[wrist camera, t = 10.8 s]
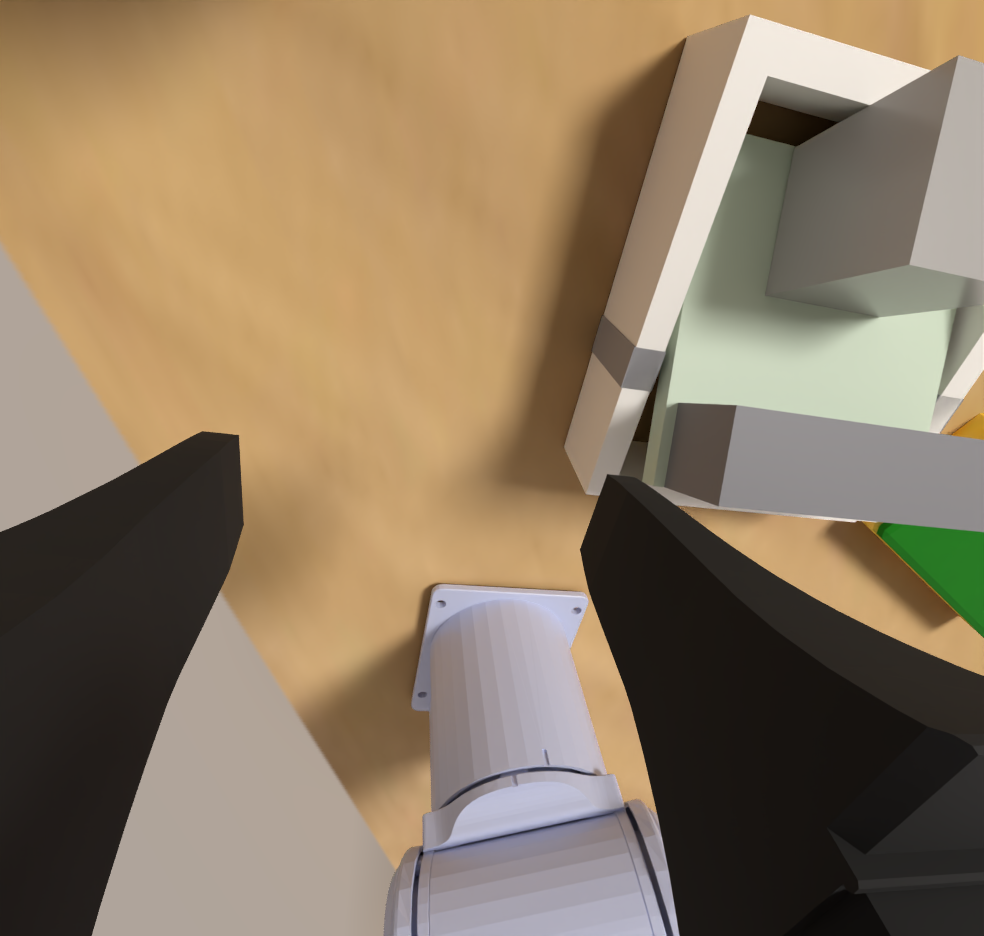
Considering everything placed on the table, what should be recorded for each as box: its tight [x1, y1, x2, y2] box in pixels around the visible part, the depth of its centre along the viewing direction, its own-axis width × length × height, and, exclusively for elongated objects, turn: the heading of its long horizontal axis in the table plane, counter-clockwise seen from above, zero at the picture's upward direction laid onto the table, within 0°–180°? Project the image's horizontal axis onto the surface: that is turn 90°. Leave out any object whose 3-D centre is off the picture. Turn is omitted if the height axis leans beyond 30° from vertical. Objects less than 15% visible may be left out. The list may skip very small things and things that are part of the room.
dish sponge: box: [862, 413, 984, 638], centre depth 28 cm, size 7×14×2 cm, turn 50°
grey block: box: [765, 55, 984, 317], centre depth 15 cm, size 4×4×5 cm
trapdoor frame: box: [564, 15, 984, 522], centre depth 19 cm, size 14×13×4 cm
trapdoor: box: [642, 134, 984, 532], centre depth 17 cm, size 11×10×4 cm
